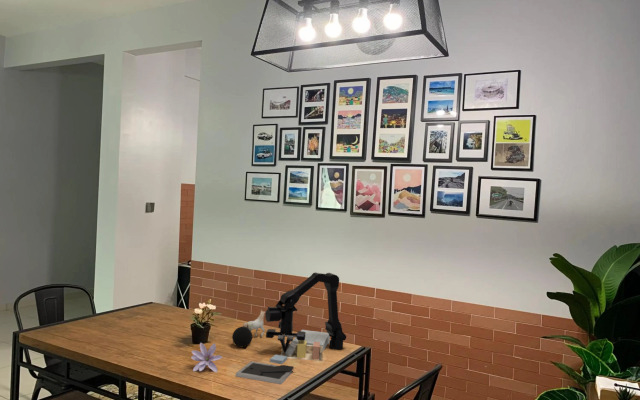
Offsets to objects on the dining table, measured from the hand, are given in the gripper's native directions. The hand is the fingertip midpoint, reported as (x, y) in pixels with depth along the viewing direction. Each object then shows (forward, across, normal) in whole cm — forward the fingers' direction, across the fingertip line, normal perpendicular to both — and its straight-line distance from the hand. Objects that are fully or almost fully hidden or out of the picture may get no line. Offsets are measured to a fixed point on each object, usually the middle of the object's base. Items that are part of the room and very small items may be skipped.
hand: (284, 352), depth 234 cm
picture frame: (+3, +6, +23) cm, 24 cm away
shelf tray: (+2, -8, 0) cm, 8 cm away
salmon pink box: (+1, -15, 0) cm, 15 cm away
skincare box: (0, -4, -20) cm, 20 cm away
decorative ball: (+3, +23, -11) cm, 25 cm away
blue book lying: (+3, +2, +9) cm, 10 cm away
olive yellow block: (+1, -8, 0) cm, 8 cm away
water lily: (+3, +33, +22) cm, 40 cm away
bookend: (0, -2, 0) cm, 2 cm away
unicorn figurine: (+3, +21, -28) cm, 35 cm away
